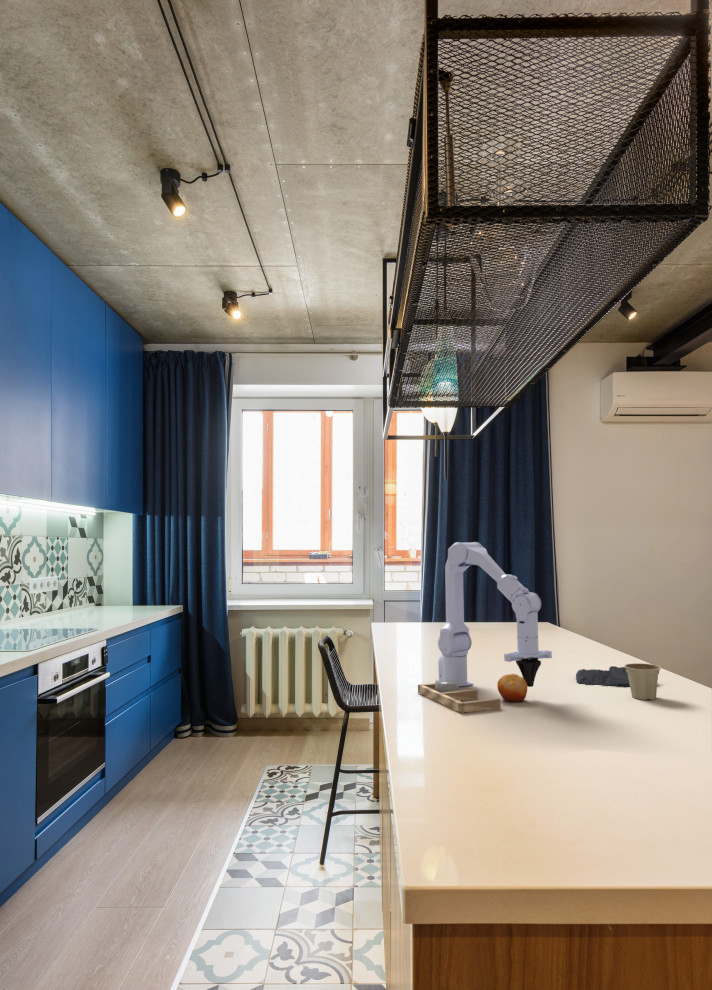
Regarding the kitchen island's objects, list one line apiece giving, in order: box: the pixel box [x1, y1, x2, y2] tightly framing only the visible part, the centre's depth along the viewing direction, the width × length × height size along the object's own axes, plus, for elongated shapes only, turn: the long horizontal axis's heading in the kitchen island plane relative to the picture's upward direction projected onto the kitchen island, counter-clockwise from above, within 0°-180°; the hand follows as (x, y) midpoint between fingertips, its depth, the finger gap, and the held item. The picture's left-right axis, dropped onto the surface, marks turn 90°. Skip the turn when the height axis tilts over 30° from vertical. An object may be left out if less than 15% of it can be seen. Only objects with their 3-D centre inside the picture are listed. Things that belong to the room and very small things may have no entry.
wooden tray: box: [417, 682, 502, 714], centre depth 181 cm, size 24×12×2 cm, turn 21°
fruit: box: [497, 673, 528, 703], centre depth 181 cm, size 8×8×8 cm
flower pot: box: [623, 662, 662, 701], centre depth 183 cm, size 9×9×9 cm
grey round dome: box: [434, 679, 460, 693], centre depth 187 cm, size 7×7×4 cm
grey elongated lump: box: [575, 666, 630, 688], centre depth 203 cm, size 15×22×5 cm
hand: (529, 686), depth 183 cm, fingers closed
